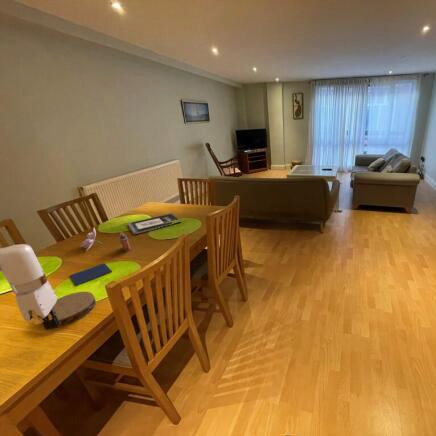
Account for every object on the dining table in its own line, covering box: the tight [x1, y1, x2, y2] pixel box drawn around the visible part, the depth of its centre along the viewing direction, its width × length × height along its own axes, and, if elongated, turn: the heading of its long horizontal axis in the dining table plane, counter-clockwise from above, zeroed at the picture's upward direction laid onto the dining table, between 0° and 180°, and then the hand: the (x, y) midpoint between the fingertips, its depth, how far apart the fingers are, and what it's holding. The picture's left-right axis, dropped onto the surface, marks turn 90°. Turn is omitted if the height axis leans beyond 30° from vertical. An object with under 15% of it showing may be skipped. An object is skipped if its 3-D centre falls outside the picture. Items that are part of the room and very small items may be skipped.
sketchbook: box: [126, 213, 179, 235], centre depth 171 cm, size 22×30×2 cm
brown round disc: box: [54, 291, 97, 328], centre depth 93 cm, size 16×16×3 cm
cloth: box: [69, 262, 113, 287], centre depth 116 cm, size 14×12×1 cm
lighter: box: [119, 231, 132, 253], centre depth 137 cm, size 8×3×10 cm, turn 45°
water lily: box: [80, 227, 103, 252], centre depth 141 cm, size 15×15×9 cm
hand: (53, 326), depth 81 cm, fingers closed
